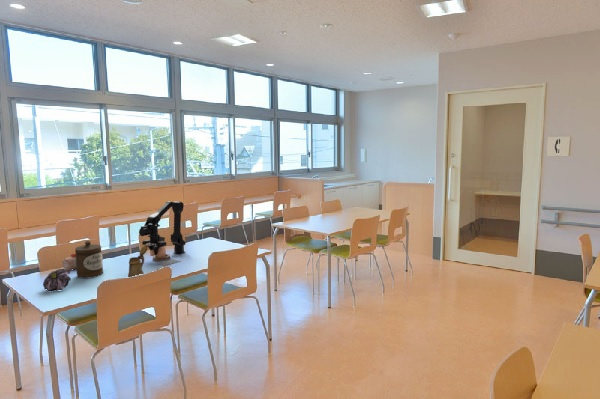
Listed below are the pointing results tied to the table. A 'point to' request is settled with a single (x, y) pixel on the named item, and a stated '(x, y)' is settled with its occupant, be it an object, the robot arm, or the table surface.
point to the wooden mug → (137, 263)
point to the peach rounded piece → (159, 252)
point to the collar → (161, 258)
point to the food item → (70, 262)
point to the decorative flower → (57, 280)
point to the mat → (168, 262)
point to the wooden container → (89, 260)
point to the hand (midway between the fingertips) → (154, 254)
